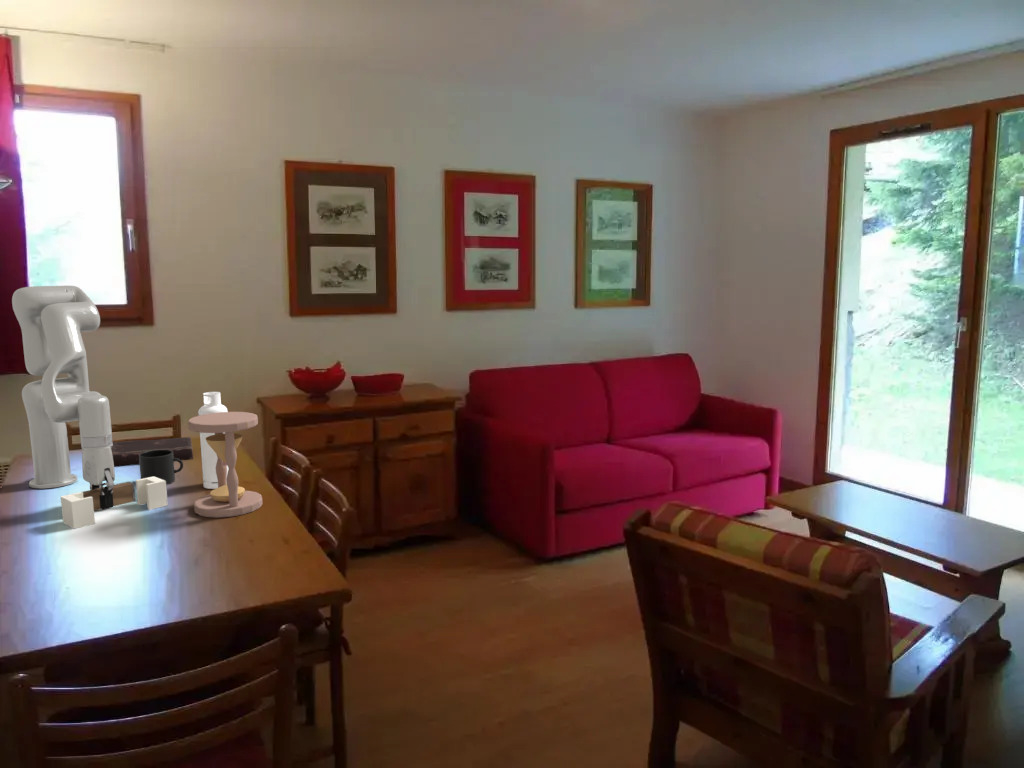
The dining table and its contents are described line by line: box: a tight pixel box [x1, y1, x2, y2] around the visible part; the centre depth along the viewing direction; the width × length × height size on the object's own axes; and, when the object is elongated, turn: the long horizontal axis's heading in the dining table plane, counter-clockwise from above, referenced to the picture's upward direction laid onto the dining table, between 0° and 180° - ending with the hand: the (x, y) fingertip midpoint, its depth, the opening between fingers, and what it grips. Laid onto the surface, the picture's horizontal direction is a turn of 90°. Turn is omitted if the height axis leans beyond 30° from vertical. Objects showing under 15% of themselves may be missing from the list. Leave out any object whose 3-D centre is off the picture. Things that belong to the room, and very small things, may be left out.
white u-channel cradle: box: [60, 476, 169, 529], centre depth 204 cm, size 7×24×7 cm, turn 140°
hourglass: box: [187, 411, 264, 519], centre depth 208 cm, size 18×18×25 cm
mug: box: [139, 450, 184, 486], centre depth 233 cm, size 9×12×9 cm
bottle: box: [197, 391, 229, 490], centre depth 229 cm, size 8×8×28 cm
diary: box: [111, 436, 194, 468], centre depth 263 cm, size 19×25×5 cm
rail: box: [82, 481, 137, 512], centre depth 210 cm, size 3×16×5 cm, turn 140°
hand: (102, 505), depth 211 cm, fingers open, 4 cm apart
